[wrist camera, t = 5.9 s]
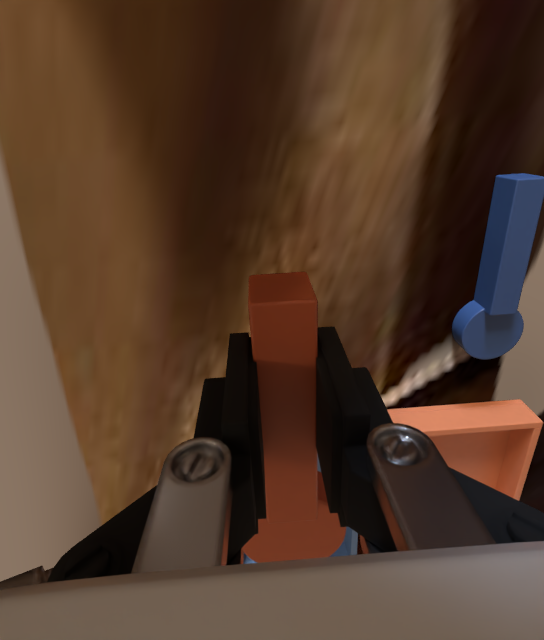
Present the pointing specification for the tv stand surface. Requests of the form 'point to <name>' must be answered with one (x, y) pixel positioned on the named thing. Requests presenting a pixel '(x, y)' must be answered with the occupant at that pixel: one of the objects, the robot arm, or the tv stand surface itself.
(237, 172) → the tv stand surface
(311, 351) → the terracotta spoon
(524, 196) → the blue spoon
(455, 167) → the tv stand surface
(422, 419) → the terracotta tray
